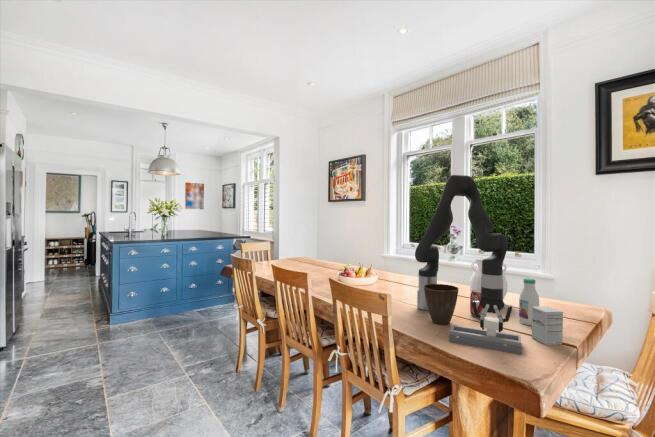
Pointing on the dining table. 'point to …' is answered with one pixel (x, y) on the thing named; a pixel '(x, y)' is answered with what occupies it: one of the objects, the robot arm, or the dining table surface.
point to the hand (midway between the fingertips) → (491, 330)
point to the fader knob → (491, 326)
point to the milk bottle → (527, 301)
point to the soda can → (475, 296)
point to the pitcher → (476, 277)
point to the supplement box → (547, 325)
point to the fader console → (485, 339)
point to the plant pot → (441, 302)
